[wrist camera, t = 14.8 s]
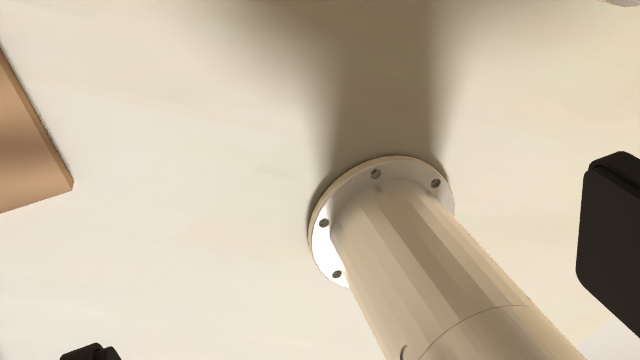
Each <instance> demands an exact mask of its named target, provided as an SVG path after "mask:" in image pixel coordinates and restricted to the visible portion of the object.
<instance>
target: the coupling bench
mask: <svg viewBox="0 0 640 360" xmlns="http://www.w3.org/2000/svg"><path fill="white" fill-rule="evenodd" d="M73 183H74V181H73V179H72V177H71V175H70V174H69V172H68V170H67V168H66V166H65V165H64V163H63V161H62V159H61V157H60V156H59V154H58V152H57V150H56V148H55V147H54V145H53V143H52V141H51V139H50V138H49V136H48V134H47V132H46V130H45V129H44V127H43V125H42V123H41V122H40V120H39V118H38V116H37V114H36V113H35V111H34V109H33V107H32V105H31V104H30V102H29V100H28V98H27V96H26V95H25V93H24V91H23V89H22V87H21V86H20V84H19V82H18V80H17V78H16V77H15V75H14V73H13V71H12V69H11V68H10V66H9V64H8V62H7V60H6V59H5V57H4V55H3V53H2V51H1V50H0V214H1V213H4V212H7V211H10V210H13V209H16V208H19V207H23V206H26V205H29V204H32V203H35V202H38V201H41V200H44V199H47V198H50V197H53V196H57V195H60V194H63V193H66V192H69V191H72V188H73Z"/></svg>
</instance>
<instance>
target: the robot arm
mask: <svg viewBox="0 0 640 360" xmlns="http://www.w3.org/2000/svg"><path fill="white" fill-rule="evenodd" d="M454 206H455V203H454V198H453V193H452V191H451V189H450V186H449V184H448V182H447V181H446V180H445V179H444V178H443V176H442V175H441V174H440V173H439V172H438V171H437V170H436V169H435V168H433V167H432V166H431V165H429V164H428V163H426V162H424V161H422V160H420V159H416V158H413V157H409V156H397V155H394V156H385V157H379V158H376V159H372V160H369V161H366V162H364V163H362V164H360V165H358V166H355V167H353V168H352V169H350V170H349V171H347V172H346V173H344V174H343V175H342V176H340V177H339V178H338V179H337V180H336V181H335V182H334V183H333V184H331V185H330V186H329V187H328V189H327V190H326V191H325V193H324V194H323V195H322V197H321V198H320V199H319V201H318V203H317V205H316V207H315V209H314V211H313V213H312V216H311V220H310V223H309V229H308V242H309V248H310V252H311V254H312V256H313V259H314V261H315V263H316V265H317V266H318V268H319V270H320V271H321V272H322V273H323V274H324V275H325V276H326V277H327V278H328V279H329V280H331V281H333V282H334V283H336V284H338V285H341V286H344V287H346V288H350V290H351V292H352V293H353V295H354V297H355V299H356V301H357V303H358V305H359V307H360V309H361V311H362V313H363V315H364V317H365V319H366V321H367V323H368V325H369V327H370V329H371V330H372V332H373V334H374V336H375V338H376V340H377V342H378V344H379V346H380V348H381V350H382V352H383V354H384V356H385V358H386V360H587V359H586V358H585V357H584V356H583V355H582V354H581V353H580V352H579V351H578V350H577V349H576V348H575V347H574V346H573V345H572V344H571V343H570V342H569V341H568V340H567V339H566V337H565V336H564V335H563V334H562V333H561V332H560V331H559V330H558V329H557V328H556V327H555V326H554V325H553V323H552V322H551V321H550V320H549V319H548V318H547V317H546V316H545V315H544V314H543V313H542V312H541V311H540V309H539V308H538V307H537V306H536V305H535V304H534V303H533V302H532V301H531V300H530V299H529V298H528V296H527V295H526V294H525V293H524V292H523V291H522V290H521V289H520V288H519V287H518V286H517V285H516V284H515V282H514V281H513V280H512V279H511V278H510V277H509V276H508V275H507V274H506V273H505V272H504V271H503V270H502V268H501V267H500V266H499V265H498V264H497V263H496V262H495V261H494V260H493V259H492V258H491V257H490V255H489V254H488V253H487V252H486V251H485V250H484V249H483V248H482V247H481V246H480V245H479V244H478V243H477V241H476V240H475V239H474V238H473V237H472V236H471V235H470V234H469V233H468V232H467V231H466V230H465V229H464V227H463V226H462V225H461V224H460V223H459V222H458V221H457V220H456V219H455V218H454ZM576 274H577V277H578V279H579V281H580V283H581V284H582V285H583V286H584V287H585V288H586V289H587V290H588V291H589V292H590V293H591V294H592V295H593V296H594V297H595V298H597V299H598V300H599V301H600V302H601V303H602V304H603V305H604V306H605V307H606V308H607V309H608V310H610V311H611V312H612V313H613V314H614V315H615V316H616V317H617V318H618V319H619V320H620V321H622V322H623V323H624V324H625V325H626V326H627V327H628V328H629V329H630V330H632V332H634V333H635V334H636V335H637V336H638V337H639V338H640V159H638V158H637V157H635V156H633V155H631V154H629V153H627V152H624V151H619V152H616V153H613V154H610V155H608V156H605V157H602V158H599V159H597V160H594V161H592V162H591V164H590V165H589V168H588V171H586V173H585V174H584V178H583V189H582V201H581V212H580V224H579V236H578V247H577V259H576ZM60 360H121V358H120V357H119V355H118V354H117V352H116V350H115V349H114V348H113V347H111V346H110V347H107V348H104V349H103V347H102V346H101V345H100V344H98V343H93V344H90V345H88V346H85V347H82V348H79V349H77V350H74V351H71V352H69V353H66V354H63V355H62V356H61V357H60Z"/></svg>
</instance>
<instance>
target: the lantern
mask: <svg viewBox="0 0 640 360" xmlns="http://www.w3.org/2000/svg"><path fill="white" fill-rule="evenodd" d="M598 1H602V2H606V3H609V4H613V5H618V6H622V7H631V6H639V5H640V0H598Z"/></svg>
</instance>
